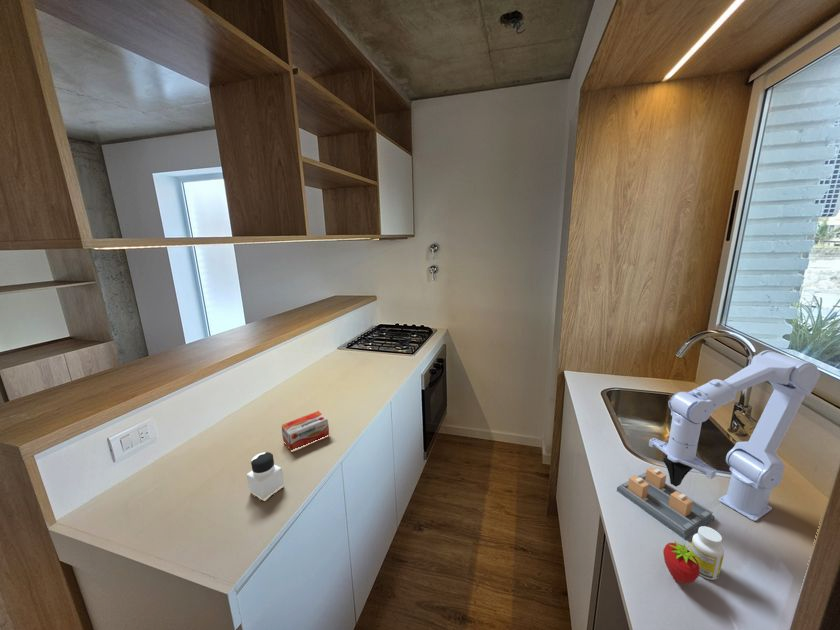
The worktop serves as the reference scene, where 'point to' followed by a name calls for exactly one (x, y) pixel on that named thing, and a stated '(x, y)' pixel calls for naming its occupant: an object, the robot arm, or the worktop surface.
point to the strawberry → (681, 563)
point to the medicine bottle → (264, 475)
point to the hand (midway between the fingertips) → (675, 483)
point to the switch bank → (669, 509)
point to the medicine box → (305, 430)
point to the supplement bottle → (708, 552)
